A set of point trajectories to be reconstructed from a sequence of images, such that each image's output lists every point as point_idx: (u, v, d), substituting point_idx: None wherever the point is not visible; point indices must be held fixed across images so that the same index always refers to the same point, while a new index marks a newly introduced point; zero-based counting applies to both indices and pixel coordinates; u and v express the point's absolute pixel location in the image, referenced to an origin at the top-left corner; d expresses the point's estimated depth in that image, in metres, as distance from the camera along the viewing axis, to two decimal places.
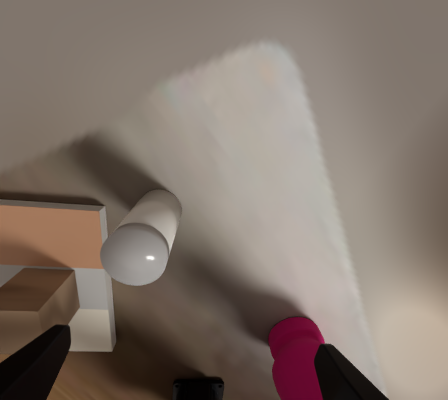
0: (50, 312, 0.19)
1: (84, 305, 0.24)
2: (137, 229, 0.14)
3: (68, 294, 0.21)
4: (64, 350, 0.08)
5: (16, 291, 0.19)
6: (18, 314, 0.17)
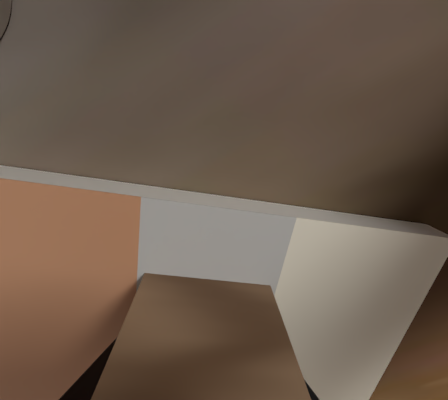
0: None
1: (267, 274, 0.08)
2: None
3: (189, 308, 0.07)
4: None
5: None
6: None
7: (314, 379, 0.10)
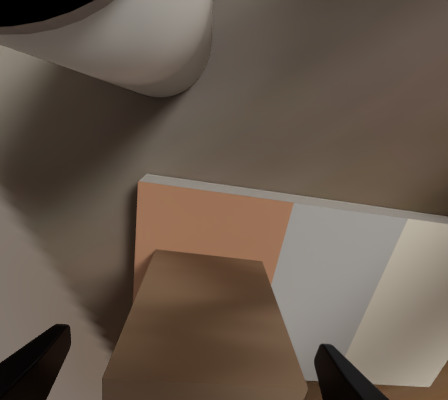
0: (175, 333, 0.06)
1: (377, 263, 0.10)
2: None
3: (193, 275, 0.08)
4: (64, 350, 0.08)
5: None
6: None
7: (398, 353, 0.12)
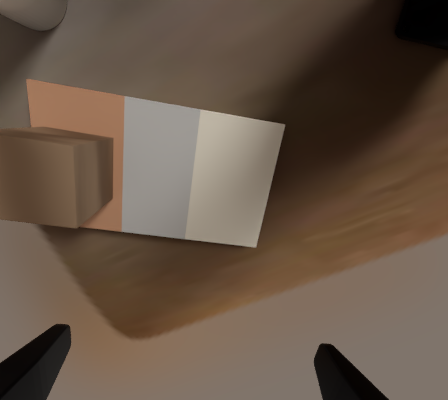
0: (21, 133, 0.12)
1: (189, 142, 0.16)
2: None
3: (57, 131, 0.14)
4: (64, 350, 0.08)
5: None
6: None
7: (225, 217, 0.19)
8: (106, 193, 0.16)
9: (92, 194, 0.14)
